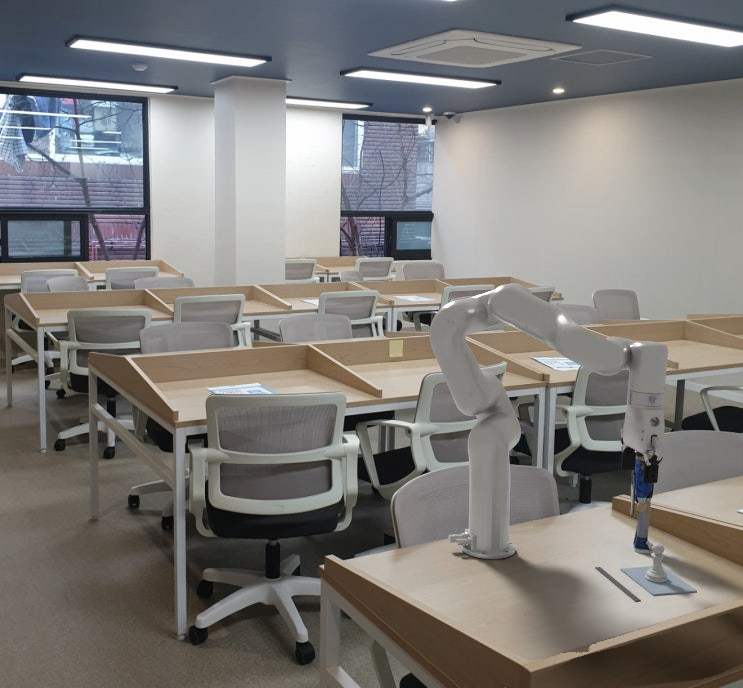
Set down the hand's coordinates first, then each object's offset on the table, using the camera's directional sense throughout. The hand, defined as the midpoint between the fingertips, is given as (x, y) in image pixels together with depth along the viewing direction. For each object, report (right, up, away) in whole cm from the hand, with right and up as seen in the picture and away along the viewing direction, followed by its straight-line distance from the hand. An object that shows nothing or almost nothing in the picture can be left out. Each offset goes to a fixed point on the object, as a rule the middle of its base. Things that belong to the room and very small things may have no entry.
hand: (638, 476), depth 185 cm
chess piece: (+4, -22, -1) cm, 23 cm away
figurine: (+6, -20, +18) cm, 28 cm away
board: (+1, -22, -1) cm, 23 cm away
